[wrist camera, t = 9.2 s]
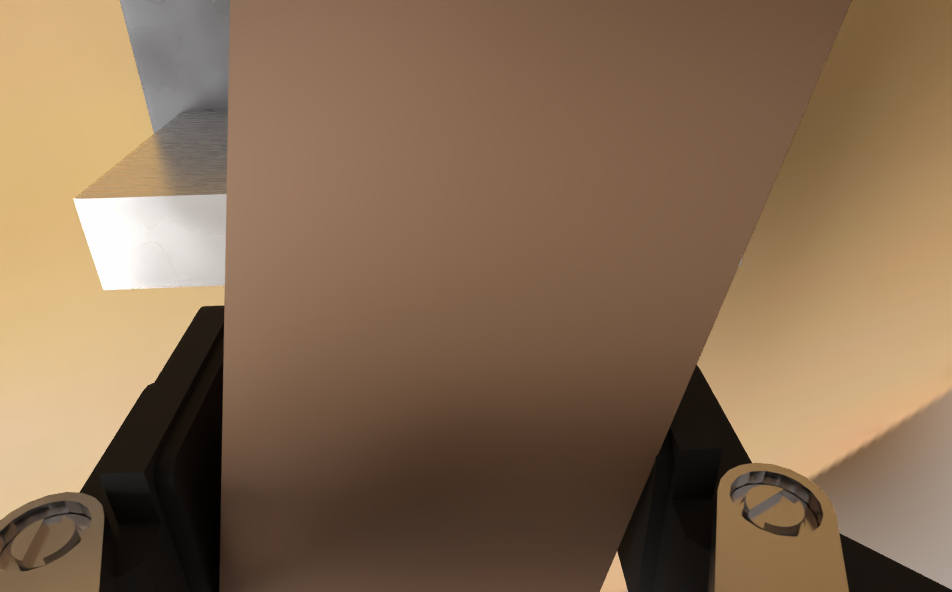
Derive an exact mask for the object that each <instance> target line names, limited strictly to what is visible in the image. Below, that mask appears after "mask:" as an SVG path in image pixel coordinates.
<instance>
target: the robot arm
mask: <svg viewBox="0 0 952 592" xmlns="http://www.w3.org/2000/svg"><path fill="white" fill-rule="evenodd" d="M224 308H225V306H204V307H201V308H200V309H199V311H198V312H197V314H196V316H195V317H194V319H193V321H192V322H191V324H190V326H189V327H188V329H187V330H186V332H185V334H184V335H183V337H182V339H181V340H180V342H179V343H178V345H177V347H176V348H175V350H174V352H173V353H172V355H171V357H170V358H169V360H168V361H167V363H166V365H165V366H164V368H163V370H162V371H161V373H160V374H159V376H158V378H157V379H156V381H155V383H152V384H150V385H148V386H147V387H146V388H145V389H144V391H143V392H142V394H141V395H140V397H139V398H138V400H137V401H136V403H135V405H134V406H133V408H132V409H131V411H130V413H129V414H128V416H127V417H126V419H125V421H124V422H123V424H122V425H121V427H120V429H119V430H118V432H117V433H116V435H115V437H114V438H113V440H112V441H111V443H110V445H109V446H108V448H107V449H106V451H105V453H104V454H103V456H102V457H101V459H100V461H99V462H98V464H97V465H96V467H95V469H94V470H93V472H92V473H91V475H90V477H89V478H88V480H87V481H86V483H85V485H84V486H83V488H82V489H81V491H80V493H73V492H65V493H59V494H54V495H48V496H45V497H43V498H40V499H37V500H34V501H31V502H29V503H27V504H25V505H23V506H22V507H20V508H18V509H16V510H14V511H12V512H11V513H9V514H8V515H7V516H6V517H4V518H3V519H2V520H0V592H219V585H220V529H221V474H222V419H223V363H224ZM617 551H618V555H619V559H620V562H621V566H622V570H623V574H624V577H625V581H626V585H627V589H628V592H952V590H951V589H949V588H947V587H945V586H943V585H941V584H939V583H937V582H935V581H933V580H931V579H929V578H927V577H925V576H923V575H921V574H919V573H917V572H915V571H913V570H911V569H909V568H907V567H905V566H903V565H901V564H899V563H897V562H895V561H893V560H892V559H890V558H888V557H885V556H884V555H882V554H880V553H877V552H876V551H874V550H872V549H870V548H868V547H866V546H864V545H862V544H860V543H858V542H856V541H854V540H852V539H850V538H848V537H845V536H844V535H842V534H840V533H839V529H838V523H837V517H836V513H835V510H834V508H833V505H832V502H831V501H830V499H829V498H828V497H827V496H826V495H825V493H824V492H823V491H822V489H821V488H819V487H818V486H817V485H815V484H814V483H813V482H812V481H810V480H809V479H808V478H806V477H804V476H802V475H800V474H798V473H796V472H794V471H792V470H790V469H787V468H783V467H780V466H777V465H773V464H763V463H752V462H751V460H750V459H749V457H748V455H747V453H746V451H745V450H744V448H743V446H742V444H741V442H740V441H739V439H738V437H737V435H736V433H735V432H734V430H733V428H732V426H731V424H730V423H729V421H728V419H727V417H726V415H725V414H724V412H723V410H722V408H721V406H720V405H719V403H718V401H717V399H716V397H715V395H714V394H713V392H712V390H711V388H710V386H709V385H708V383H707V381H706V379H705V377H704V376H703V374H702V372H701V370H700V369H699V367H698V366H697V365H696V367H695V369H694V371H693V374H692V376H691V378H690V381H689V383H688V385H687V388H686V390H685V393H684V395H683V397H682V400H681V402H680V404H679V407H678V409H677V411H676V414H675V416H674V418H673V421H672V423H671V425H670V428H669V430H668V432H667V435H666V437H665V439H664V442H663V444H662V446H661V449H660V451H659V453H658V455H656V458H655V463H654V465H653V468H652V470H651V472H650V475H649V477H648V479H647V482H646V484H645V486H644V489H643V491H642V493H641V496H640V498H639V500H638V503H637V505H636V507H635V510H634V512H633V514H632V517H631V519H630V521H629V524H628V526H627V528H626V531H625V533H624V535H623V538H622V540H621V543H620V545H619V547H618V550H617Z"/></svg>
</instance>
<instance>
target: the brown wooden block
mask: <svg viewBox="0 0 952 592" xmlns="http://www.w3.org/2000/svg"><path fill="white" fill-rule="evenodd" d="M851 1H852V0H230V30H229V86H228V141H227V197H226V252H225V308H224V363H223V419H222V474H221V529H220V585H219V592H600V589H601V587H602V585H603V582H604V580H605V578H606V575H607V573H608V571H609V568H610V566H611V564H612V561H613V559H614V557H615V554H616V552H617V550H618V547H619V545H620V543H621V540H622V538H623V535H624V533H625V531H626V528H627V526H628V524H629V521H630V519H631V517H632V514H633V512H634V510H635V507H636V505H637V503H638V500H639V498H640V496H641V493H642V491H643V489H644V486H645V484H646V482H647V479H648V477H649V475H650V472H651V470H652V468H653V465H654V463H655V458H656V455H658V453H659V451H660V449H661V446H662V444H663V442H664V439H665V437H666V435H667V432H668V430H669V428H670V425H671V423H672V421H673V418H674V416H675V414H676V411H677V409H678V407H679V404H680V402H681V400H682V397H683V395H684V393H685V390H686V388H687V385H688V383H689V381H690V378H691V376H692V374H693V371H694V369H695V367H696V364H697V362H698V360H699V357H700V355H701V353H702V350H703V348H704V346H705V343H706V341H707V339H708V336H709V334H710V332H711V329H712V327H713V325H714V322H715V320H716V318H717V315H718V313H719V310H720V308H721V306H722V303H723V301H724V299H725V296H726V294H727V292H728V289H729V287H730V285H731V282H732V280H733V278H734V275H735V273H736V271H737V268H738V266H739V264H740V261H741V259H742V257H743V254H744V252H745V250H746V247H747V245H748V242H749V240H750V238H751V235H752V233H753V231H754V228H755V226H756V224H757V221H758V219H759V217H760V214H761V212H762V210H763V207H764V205H765V203H766V200H767V198H768V196H769V193H770V191H771V189H772V186H773V184H774V182H775V179H776V177H777V175H778V172H779V170H780V167H781V165H782V163H783V160H784V158H785V156H786V153H787V151H788V149H789V146H790V144H791V142H792V139H793V137H794V135H795V132H796V130H797V128H798V125H799V123H800V121H801V118H802V116H803V114H804V111H805V109H806V107H807V104H808V102H809V100H810V97H811V95H812V92H813V90H814V88H815V85H816V83H817V81H818V78H819V76H820V74H821V71H822V69H823V67H824V64H825V62H826V60H827V57H828V55H829V53H830V50H831V48H832V46H833V43H834V41H835V39H836V36H837V34H838V32H839V29H840V27H841V24H842V22H843V20H844V17H845V15H846V13H847V10H848V8H849V6H850V3H851Z"/></svg>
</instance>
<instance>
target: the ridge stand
mask: <svg viewBox="0 0 952 592" xmlns="http://www.w3.org/2000/svg"><path fill="white" fill-rule="evenodd" d="M120 3H121V7H122V10H123V14H124V18H125V22H126V26H127V30H128V34H129V38H130V42H131V45H132V49H133V53H134V57H135V61H136V65H137V69H138V73H139V76H140V80H141V84H142V88H143V92H144V96H145V100H146V104H147V108H148V111H149V115H150V119H151V123H152V127H153V131H154V134H153V135H152V136H151V137H150V138H148V139H147V140H146V141H145V142H143V143H142V144H141V145H140V146H139V147H137V148H136V149H135V150H134V151H132V152H131V153H130V154H129V155H127V156H126V157H125V158H124V159H122V160H121V161H120V162H119V163H117V164H116V165H115V166H114V167H113V168H111V169H110V170H109V171H108V172H106V173H105V174H104V175H103V176H101V177H100V178H99V179H98V180H96V181H95V182H94V183H93V184H92V185H90V186H89V187H88V188H87V189H85V190H84V191H83V192H82V193H80V194H79V195H78V196H77V197H75V198H74V199H73V200H74V203H75V206H76V209H77V212H78V215H79V218H80V221H81V224H82V227H83V230H84V233H85V236H86V239H87V242H88V245H89V248H90V251H91V254H92V257H93V260H94V263H95V266H96V269H97V272H98V275H99V278H100V281H101V284H102V287H103V290H118V289H144V288H170V287H196V286H222V285H225V252H226V197H227V141H228V86H229V30H230V0H120ZM741 262H742V259H741V261H740V264H739V266H741Z"/></svg>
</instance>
